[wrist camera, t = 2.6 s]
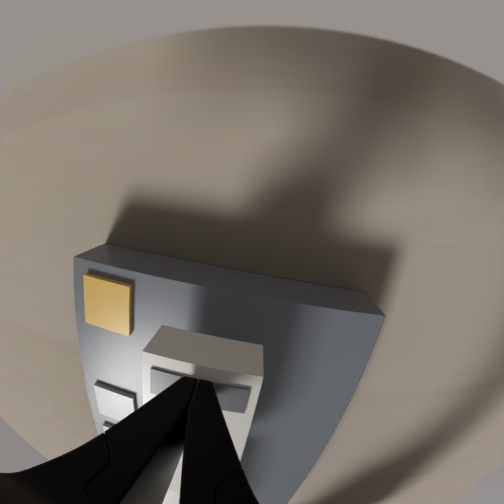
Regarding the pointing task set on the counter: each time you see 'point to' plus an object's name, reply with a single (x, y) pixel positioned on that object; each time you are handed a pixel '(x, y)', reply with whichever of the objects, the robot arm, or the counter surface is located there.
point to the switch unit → (235, 328)
